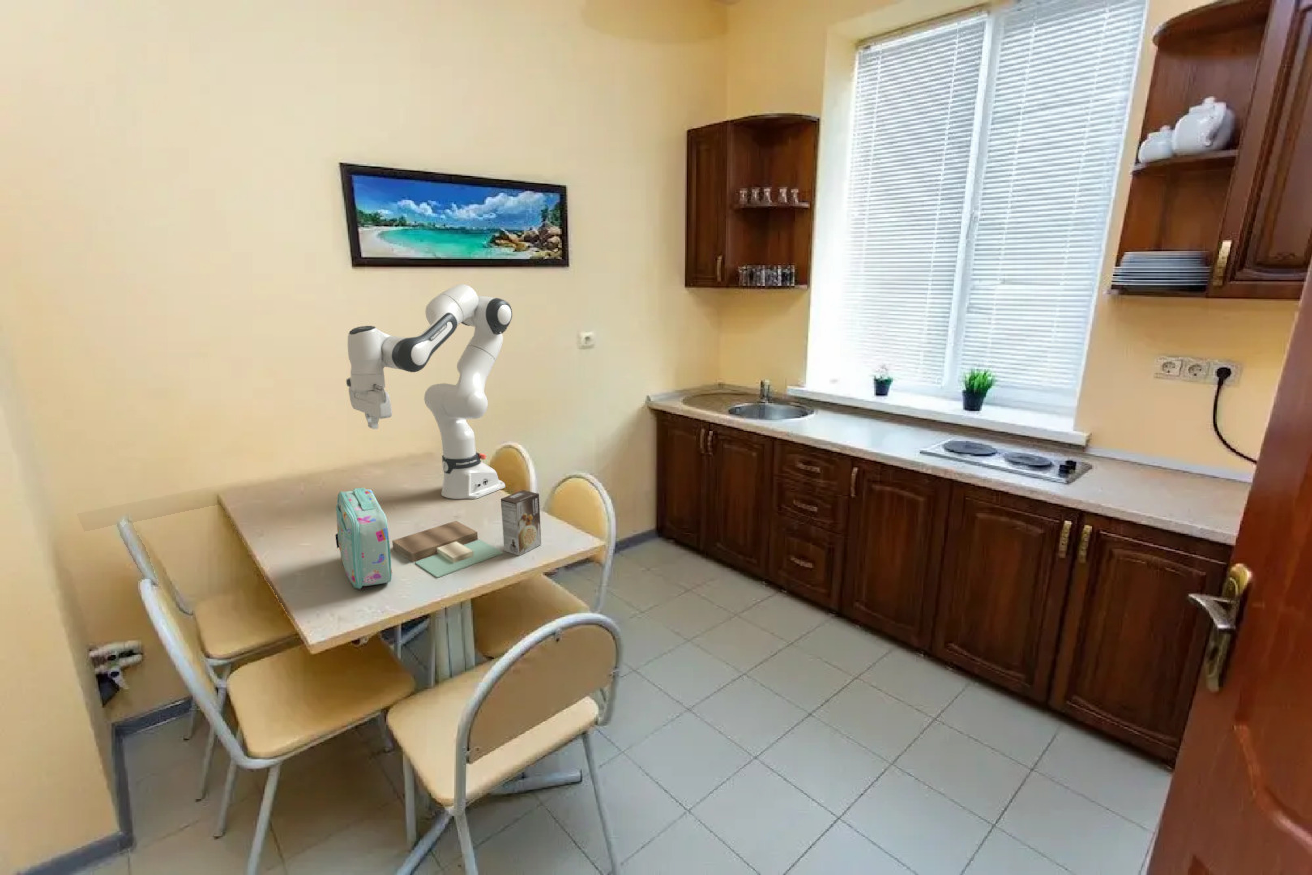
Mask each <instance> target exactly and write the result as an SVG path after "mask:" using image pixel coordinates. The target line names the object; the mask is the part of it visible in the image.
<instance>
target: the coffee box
mask: <svg viewBox="0 0 1312 875" xmlns="http://www.w3.org/2000/svg"><path fill="white" fill-rule="evenodd" d="M500 506H501V519H502V520H501V521H502V522H501V523H502V537H503V539H502V540H503V551H504V552H507V553H509V554H510V553H511V554H512V555H516V556H519V557H520V556H522V555H524V554H526V553H528V552H530V551H532V550H533V549H535V548H537V547H539V546H541V545H542V536H541V535H542V532H541V531H542V530H541V529H542V528H541V513H540V511H541V510H540V509H541V508H540V494H539V493H538V492H534V491H529V490H525V489H521V490H520V491H517V492H515V493H513V494H510V495H508V496H504V497H502V498H500Z"/></svg>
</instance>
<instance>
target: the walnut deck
mask: <svg viewBox="0 0 1312 875" xmlns="http://www.w3.org/2000/svg"><path fill="white" fill-rule="evenodd" d="M478 535H479V534H478V531H477V530H475V529H472V528H470V527H469V526H468V525H465V524H463V523H461V522H459V521H457V520H455V521H450V522H448V523H445V524H441V525H438V526H435V527H431V528H428V529H426V530H422V531H420V532H419V531H418V532H416V533H413V534H409V535H407V536H404V537H403V536H402V537H400V538H397V539H396V538H395V539H393V540H391V542H392V548H393V550H394V551H396V552H397V553H399V554H400V555H401V556H403V557H405V558H407V559H408V560H409V561H411V562H412V563H415V562H416V561H419V560H422V559H425V558H428V557H431V556H434V555H437V554H438V553H437V548H438V547H441V546H444V545H447V544H450V543H453V542H458V543H460V544H462V545H465V544H468V543H471V542H474V541H477V540H479V538H478V537H479V536H478Z"/></svg>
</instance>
